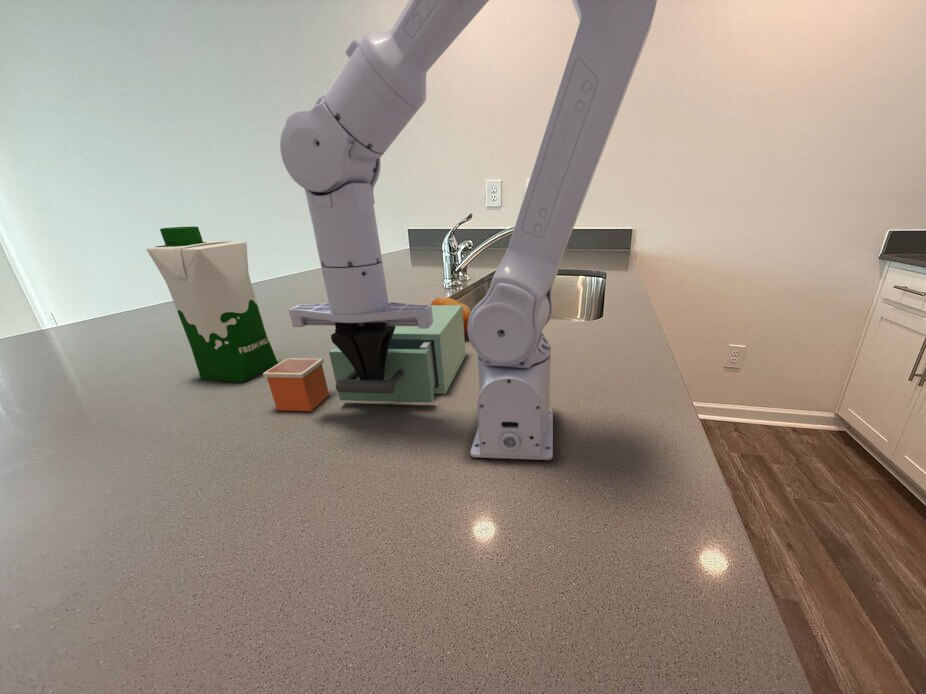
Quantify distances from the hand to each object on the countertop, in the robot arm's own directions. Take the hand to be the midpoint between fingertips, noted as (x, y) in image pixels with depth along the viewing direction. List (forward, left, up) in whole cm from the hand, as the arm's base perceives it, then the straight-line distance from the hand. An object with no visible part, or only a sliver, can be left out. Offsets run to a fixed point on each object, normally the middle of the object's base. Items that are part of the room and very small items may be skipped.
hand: (374, 387), depth 46 cm
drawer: (+6, 0, -3) cm, 7 cm away
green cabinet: (+13, 0, -4) cm, 13 cm away
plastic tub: (+3, +11, -4) cm, 12 cm away
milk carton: (+12, +26, -4) cm, 29 cm away
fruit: (+29, -2, -4) cm, 29 cm away
